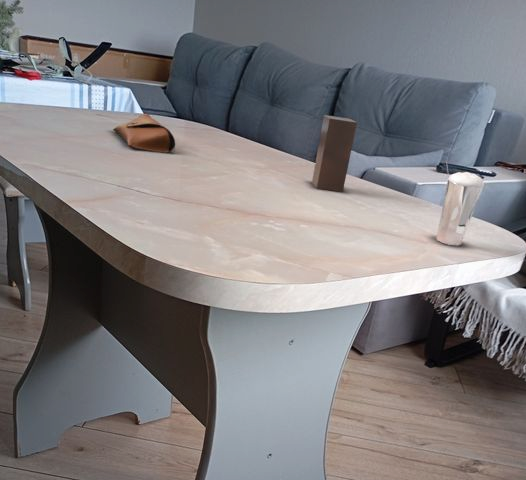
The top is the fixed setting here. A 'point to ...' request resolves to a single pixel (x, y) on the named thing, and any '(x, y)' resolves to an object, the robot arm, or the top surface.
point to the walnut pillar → (333, 153)
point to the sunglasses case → (146, 135)
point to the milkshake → (458, 206)
